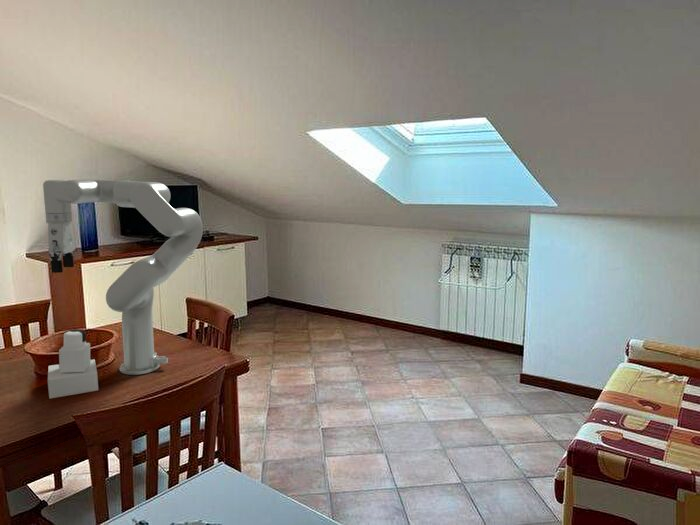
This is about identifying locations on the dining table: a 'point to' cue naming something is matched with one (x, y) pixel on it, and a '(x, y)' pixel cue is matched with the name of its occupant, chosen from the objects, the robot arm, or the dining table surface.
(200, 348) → the dining table surface
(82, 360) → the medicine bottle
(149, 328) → the robot arm
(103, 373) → the dining table surface
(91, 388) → the grey block
